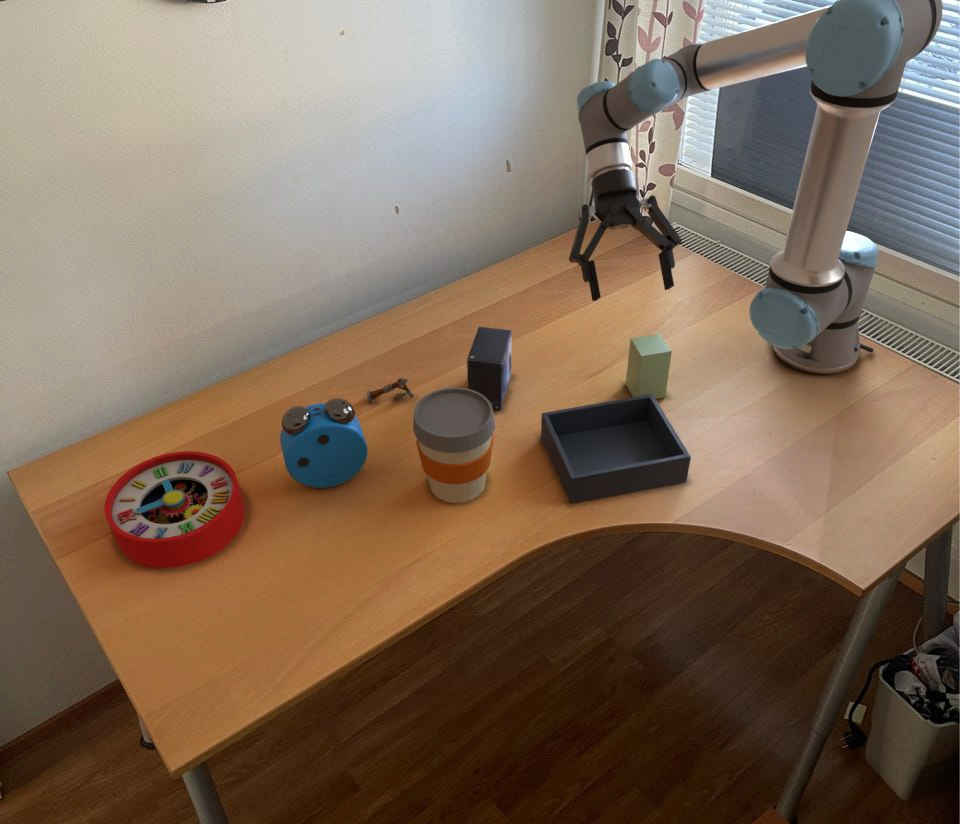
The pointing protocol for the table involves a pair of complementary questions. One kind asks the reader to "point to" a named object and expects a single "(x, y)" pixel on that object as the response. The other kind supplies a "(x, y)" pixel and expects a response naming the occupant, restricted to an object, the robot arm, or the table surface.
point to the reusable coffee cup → (455, 441)
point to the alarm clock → (323, 443)
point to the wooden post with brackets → (388, 388)
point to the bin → (613, 448)
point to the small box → (490, 364)
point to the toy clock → (175, 509)
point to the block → (648, 366)
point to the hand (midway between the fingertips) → (633, 293)
